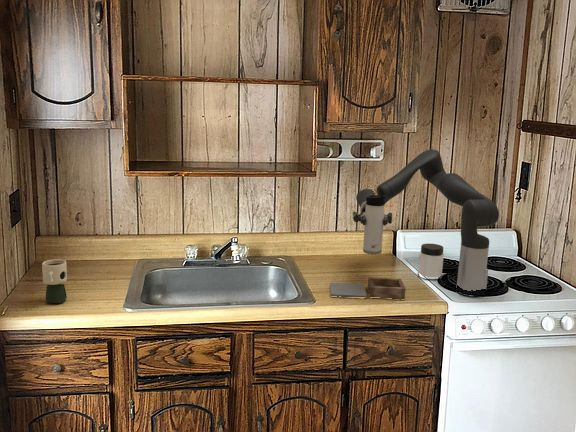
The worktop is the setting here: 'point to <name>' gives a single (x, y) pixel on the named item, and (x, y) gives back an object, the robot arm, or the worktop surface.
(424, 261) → the jar
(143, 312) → the worktop surface
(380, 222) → the travel mug
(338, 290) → the cover plate
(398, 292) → the walnut holder
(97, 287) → the worktop surface
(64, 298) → the character mug
